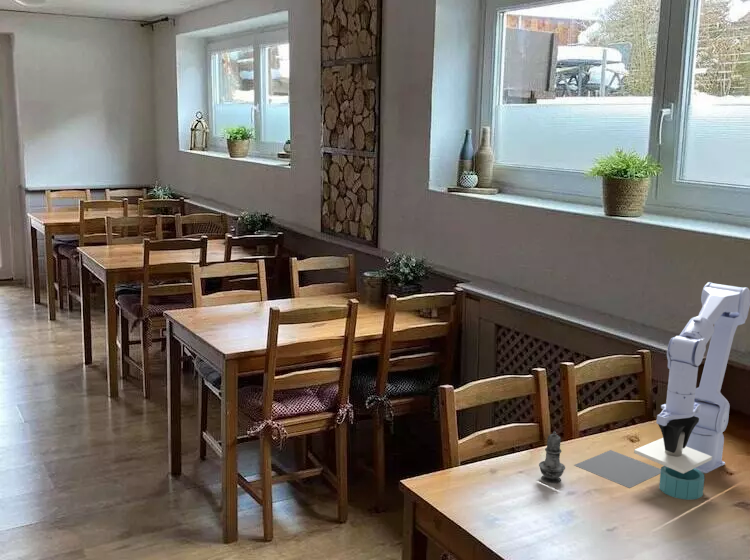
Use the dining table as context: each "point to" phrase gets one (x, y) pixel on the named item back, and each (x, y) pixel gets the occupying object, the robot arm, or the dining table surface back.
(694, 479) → the bowl
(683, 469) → the lid
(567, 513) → the dining table surface
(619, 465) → the mat
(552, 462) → the dark grey turned figure
